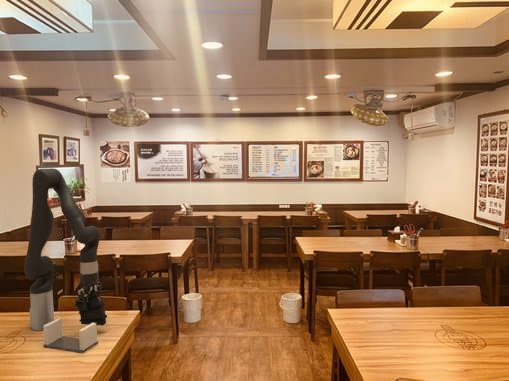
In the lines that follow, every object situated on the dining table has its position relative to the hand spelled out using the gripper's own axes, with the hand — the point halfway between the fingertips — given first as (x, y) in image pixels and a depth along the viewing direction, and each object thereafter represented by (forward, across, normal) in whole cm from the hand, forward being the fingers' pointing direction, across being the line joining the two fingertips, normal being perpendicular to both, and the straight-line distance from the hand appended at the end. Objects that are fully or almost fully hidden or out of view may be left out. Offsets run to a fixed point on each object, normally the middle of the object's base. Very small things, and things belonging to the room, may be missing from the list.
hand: (90, 307), depth 176 cm
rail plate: (+11, +13, 0) cm, 17 cm away
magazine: (+8, 0, 0) cm, 8 cm away
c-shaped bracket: (+11, +13, 0) cm, 17 cm away
